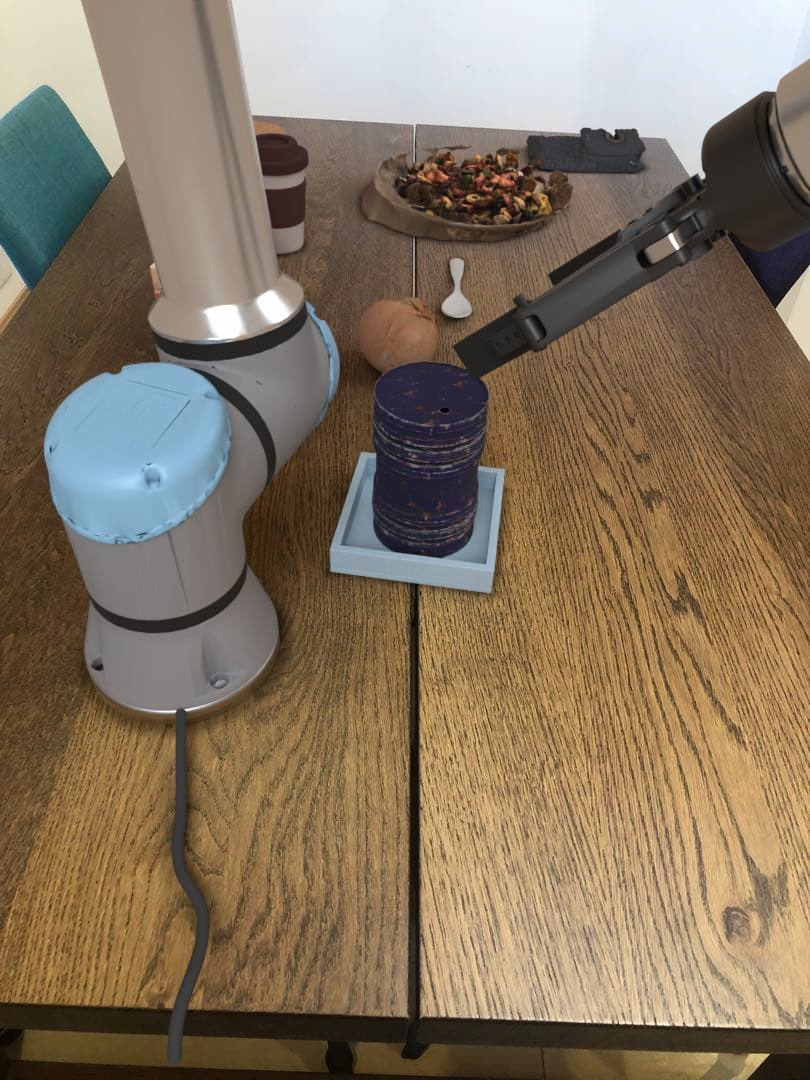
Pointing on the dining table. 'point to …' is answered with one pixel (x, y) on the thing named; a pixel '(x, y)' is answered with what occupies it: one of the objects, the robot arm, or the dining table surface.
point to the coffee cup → (284, 188)
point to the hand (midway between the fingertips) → (515, 322)
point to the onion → (397, 333)
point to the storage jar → (427, 457)
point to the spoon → (456, 293)
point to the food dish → (464, 196)
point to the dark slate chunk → (589, 151)
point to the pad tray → (461, 570)
